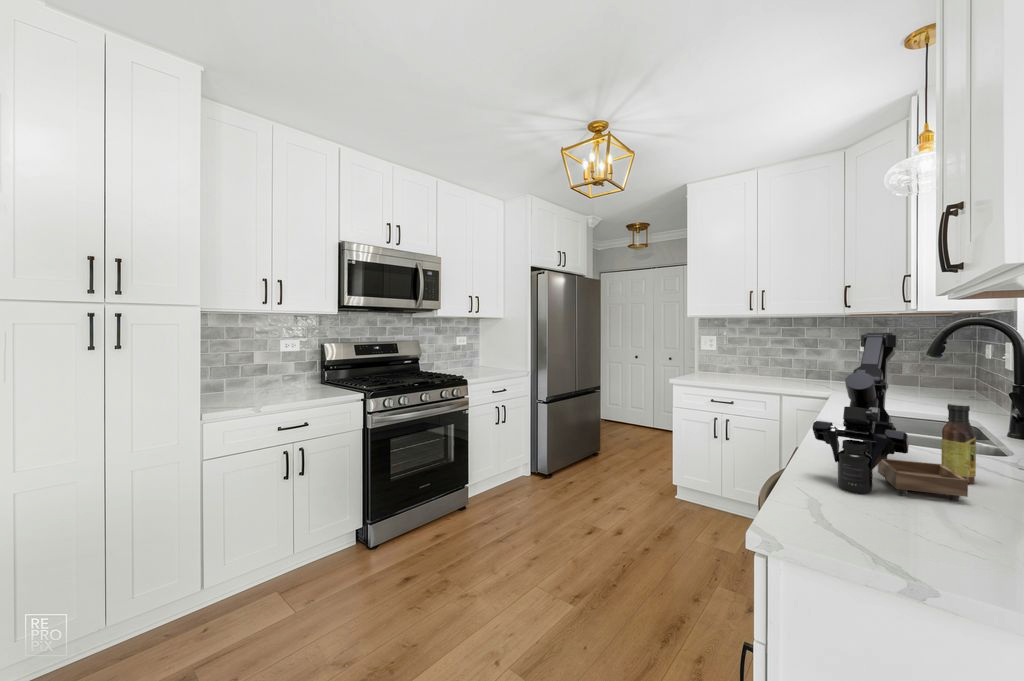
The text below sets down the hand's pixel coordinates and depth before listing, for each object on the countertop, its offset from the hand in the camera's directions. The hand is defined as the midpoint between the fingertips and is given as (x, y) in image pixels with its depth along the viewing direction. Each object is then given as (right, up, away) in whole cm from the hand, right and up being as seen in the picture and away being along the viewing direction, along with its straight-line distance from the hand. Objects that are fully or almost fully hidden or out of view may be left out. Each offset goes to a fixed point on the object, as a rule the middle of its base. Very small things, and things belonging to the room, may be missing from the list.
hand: (853, 464), depth 107 cm
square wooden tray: (+16, -6, 0) cm, 17 cm away
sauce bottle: (+32, -6, +6) cm, 34 cm away
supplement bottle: (+1, -7, +1) cm, 7 cm away
